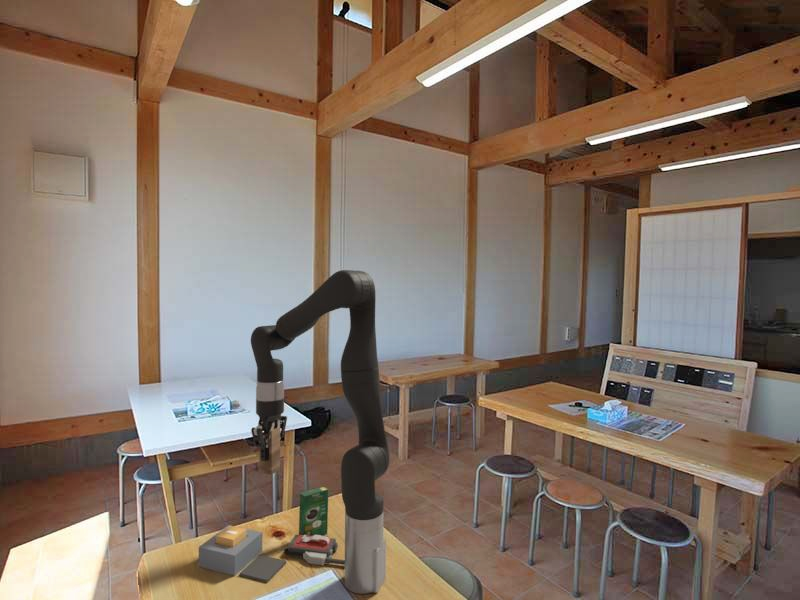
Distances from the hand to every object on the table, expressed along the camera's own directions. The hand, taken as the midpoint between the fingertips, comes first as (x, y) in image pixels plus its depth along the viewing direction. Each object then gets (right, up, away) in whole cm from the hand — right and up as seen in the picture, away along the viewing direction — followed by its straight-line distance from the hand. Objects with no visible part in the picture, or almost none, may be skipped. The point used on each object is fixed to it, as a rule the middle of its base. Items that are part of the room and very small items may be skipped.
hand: (269, 457), depth 122 cm
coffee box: (+12, -23, +2) cm, 26 cm away
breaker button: (-7, -20, -9) cm, 23 cm away
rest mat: (+2, -23, -13) cm, 27 cm away
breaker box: (-7, -23, -9) cm, 26 cm away
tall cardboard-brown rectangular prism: (0, -4, 0) cm, 4 cm away
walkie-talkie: (+16, -24, -7) cm, 30 cm away
